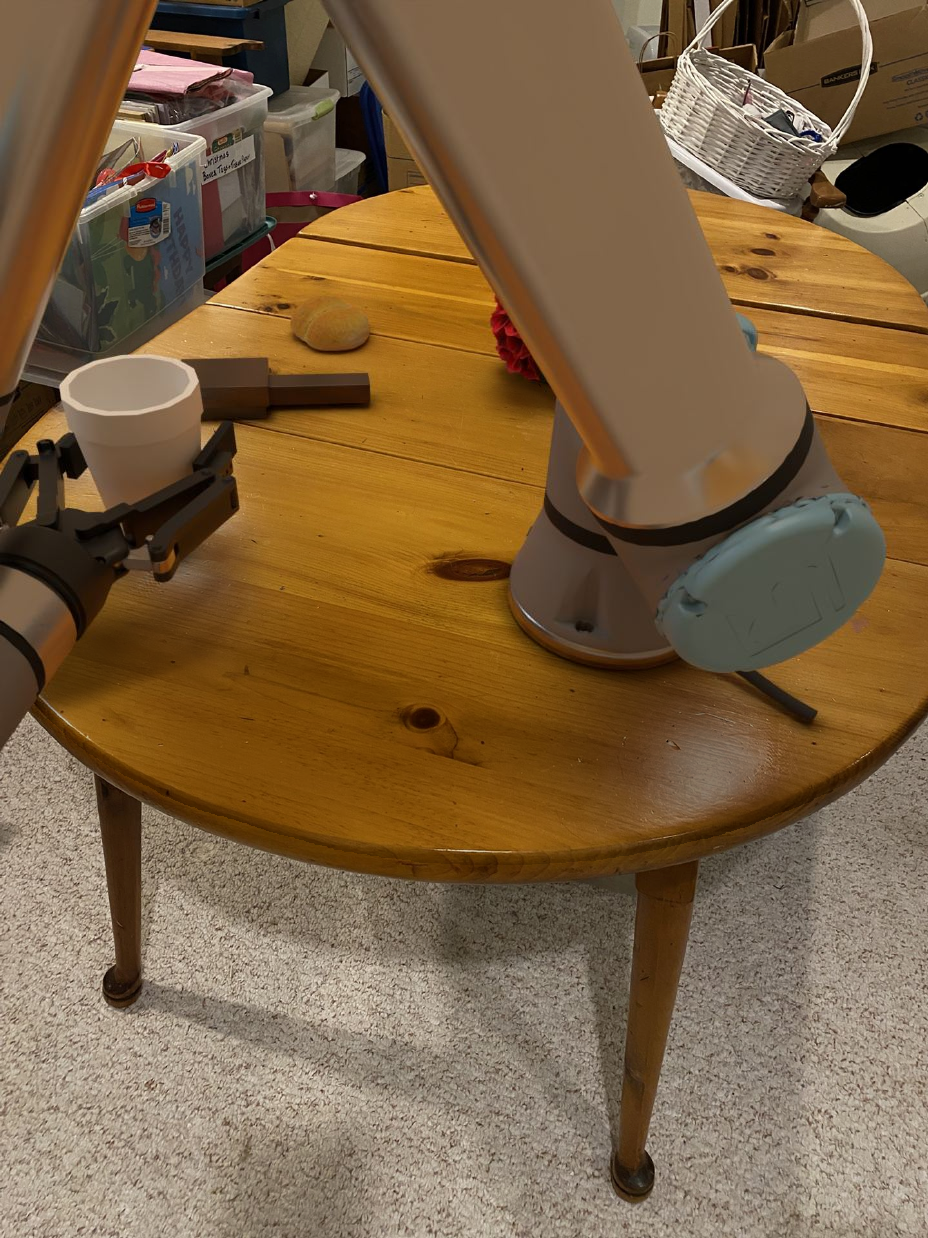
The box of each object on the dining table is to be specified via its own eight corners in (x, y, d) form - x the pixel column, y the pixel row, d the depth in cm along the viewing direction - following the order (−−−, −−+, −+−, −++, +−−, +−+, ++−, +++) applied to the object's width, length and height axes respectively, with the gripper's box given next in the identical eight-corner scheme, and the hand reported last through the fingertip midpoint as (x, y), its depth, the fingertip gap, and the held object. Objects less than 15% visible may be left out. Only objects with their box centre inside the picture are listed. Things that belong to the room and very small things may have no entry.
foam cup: (230, 556, 72) (208, 405, 63) (106, 579, 69) (64, 424, 60) (208, 492, 78) (185, 347, 70) (94, 511, 76) (55, 362, 67)
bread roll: (325, 360, 100) (323, 324, 97) (280, 331, 105) (278, 296, 102) (386, 342, 104) (386, 307, 102) (340, 315, 109) (339, 281, 107)
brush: (367, 387, 96) (366, 355, 93) (372, 416, 91) (371, 383, 89) (186, 392, 93) (181, 358, 91) (181, 422, 88) (176, 387, 86)
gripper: (-127, 630, 59) (47, 453, 76) (205, 679, 57) (308, 486, 74) (-174, 534, 54) (23, 368, 71) (187, 584, 52) (301, 401, 69)
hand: (168, 428), depth 72 cm, fingers closed on foam cup, 9 cm apart
